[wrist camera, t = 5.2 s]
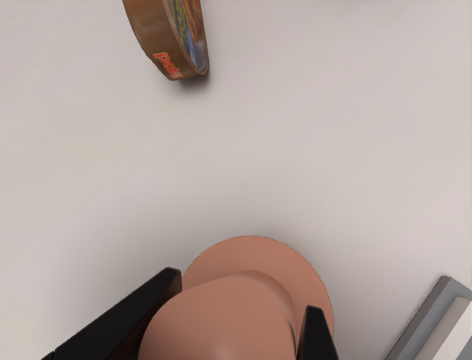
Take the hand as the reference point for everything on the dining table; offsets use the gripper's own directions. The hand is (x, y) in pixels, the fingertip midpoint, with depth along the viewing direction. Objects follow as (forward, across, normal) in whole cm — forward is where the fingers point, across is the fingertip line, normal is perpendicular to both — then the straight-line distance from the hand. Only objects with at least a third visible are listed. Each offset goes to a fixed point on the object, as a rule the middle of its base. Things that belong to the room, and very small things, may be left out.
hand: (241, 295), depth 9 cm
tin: (+21, +11, -4) cm, 24 cm away
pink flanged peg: (+4, 0, +6) cm, 7 cm away
